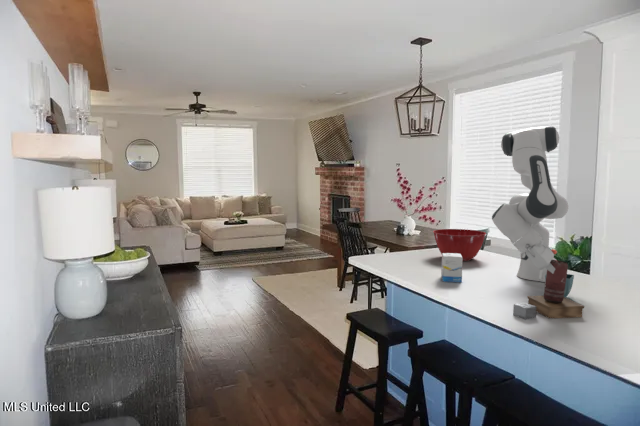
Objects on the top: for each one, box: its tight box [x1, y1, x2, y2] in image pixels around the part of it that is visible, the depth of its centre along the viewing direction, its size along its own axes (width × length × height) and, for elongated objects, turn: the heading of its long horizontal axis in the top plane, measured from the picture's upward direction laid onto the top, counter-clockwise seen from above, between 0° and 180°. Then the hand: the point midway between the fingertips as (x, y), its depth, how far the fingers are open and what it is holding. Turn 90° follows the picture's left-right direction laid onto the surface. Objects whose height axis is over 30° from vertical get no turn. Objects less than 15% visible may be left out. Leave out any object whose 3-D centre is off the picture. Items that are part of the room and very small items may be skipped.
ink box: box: [440, 253, 464, 283], centre depth 191 cm, size 9×8×12 cm
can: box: [543, 259, 569, 303], centre depth 147 cm, size 6×6×14 cm
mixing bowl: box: [432, 228, 487, 262], centre depth 237 cm, size 28×28×16 cm
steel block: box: [512, 301, 537, 321], centre depth 144 cm, size 5×5×4 cm
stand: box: [527, 295, 585, 319], centre depth 148 cm, size 13×13×4 cm
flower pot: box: [544, 273, 575, 298], centre depth 165 cm, size 9×9×9 cm
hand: (558, 273), depth 147 cm, fingers closed on can, 4 cm apart
